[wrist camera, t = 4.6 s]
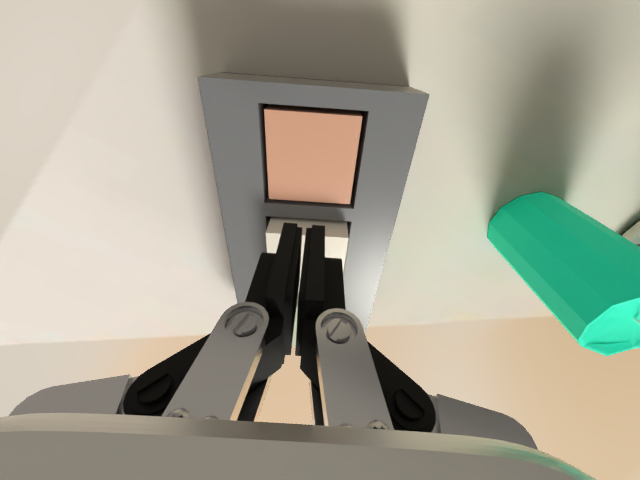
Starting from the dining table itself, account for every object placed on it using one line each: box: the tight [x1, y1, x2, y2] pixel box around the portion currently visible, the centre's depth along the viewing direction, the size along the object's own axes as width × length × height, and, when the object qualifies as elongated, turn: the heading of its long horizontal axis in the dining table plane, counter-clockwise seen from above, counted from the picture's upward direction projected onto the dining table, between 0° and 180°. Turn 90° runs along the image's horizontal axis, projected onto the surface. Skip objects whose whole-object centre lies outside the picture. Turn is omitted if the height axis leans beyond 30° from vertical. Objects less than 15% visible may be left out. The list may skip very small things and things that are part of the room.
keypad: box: [198, 73, 429, 333], centre depth 22 cm, size 12×22×4 cm, turn 176°
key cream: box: [266, 216, 349, 293], centre depth 20 cm, size 5×5×3 cm
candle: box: [487, 192, 640, 356], centre depth 18 cm, size 6×6×12 cm
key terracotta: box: [264, 104, 363, 204], centre depth 17 cm, size 5×5×3 cm
